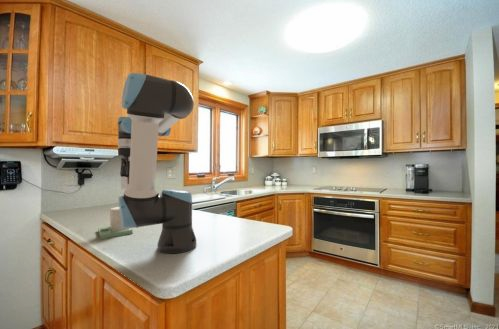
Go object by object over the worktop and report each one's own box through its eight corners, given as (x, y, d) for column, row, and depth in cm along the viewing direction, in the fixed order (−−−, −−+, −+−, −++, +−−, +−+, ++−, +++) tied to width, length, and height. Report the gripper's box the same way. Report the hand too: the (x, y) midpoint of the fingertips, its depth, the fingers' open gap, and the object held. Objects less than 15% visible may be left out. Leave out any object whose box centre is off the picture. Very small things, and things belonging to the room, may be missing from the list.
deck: (132, 233, 111) (132, 228, 111) (101, 239, 103) (101, 233, 103) (126, 226, 123) (126, 222, 123) (98, 231, 115) (98, 226, 115)
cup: (106, 233, 111) (106, 209, 111) (119, 229, 119) (119, 206, 119) (120, 234, 109) (120, 209, 109) (132, 230, 117) (132, 206, 117)
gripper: (140, 146, 108) (141, 190, 108) (129, 150, 127) (129, 187, 127) (123, 145, 103) (123, 192, 103) (114, 149, 123) (114, 188, 122)
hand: (126, 189), depth 115 cm, fingers open, 13 cm apart
